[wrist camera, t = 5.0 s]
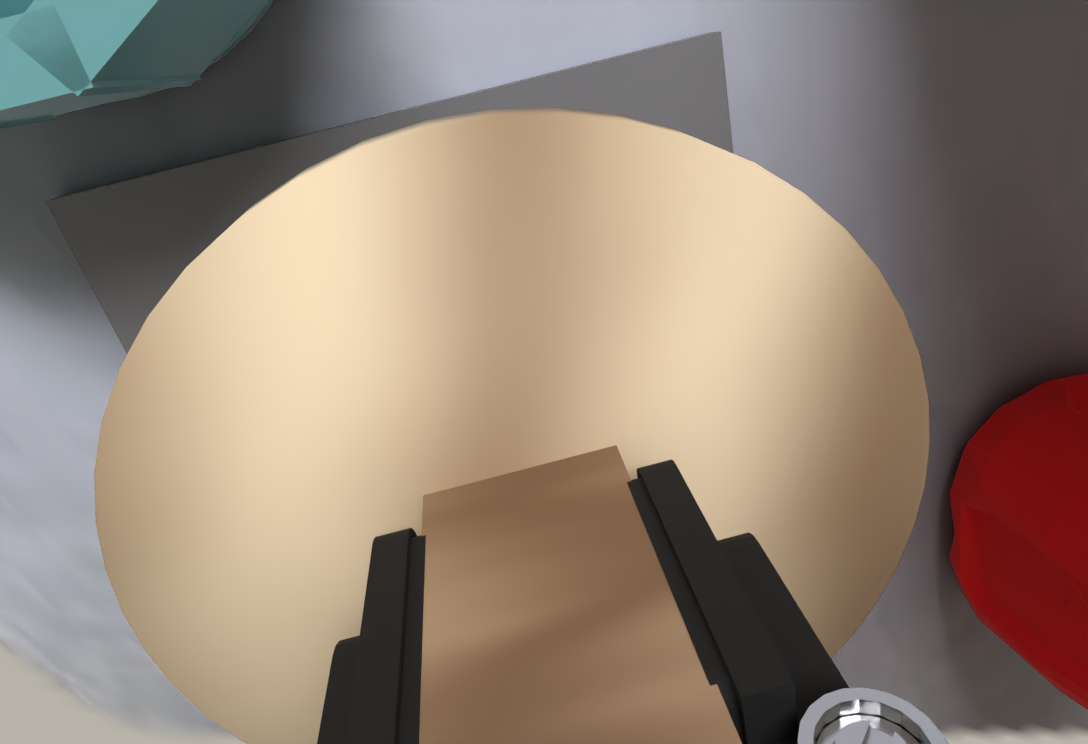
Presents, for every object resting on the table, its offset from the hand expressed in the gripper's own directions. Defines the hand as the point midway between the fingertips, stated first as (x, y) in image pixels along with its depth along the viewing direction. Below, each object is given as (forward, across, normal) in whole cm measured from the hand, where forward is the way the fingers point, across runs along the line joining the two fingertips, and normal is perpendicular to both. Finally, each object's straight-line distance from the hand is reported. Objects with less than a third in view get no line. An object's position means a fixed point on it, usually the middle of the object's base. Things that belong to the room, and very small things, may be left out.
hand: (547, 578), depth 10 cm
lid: (+2, 0, 0) cm, 2 cm away
